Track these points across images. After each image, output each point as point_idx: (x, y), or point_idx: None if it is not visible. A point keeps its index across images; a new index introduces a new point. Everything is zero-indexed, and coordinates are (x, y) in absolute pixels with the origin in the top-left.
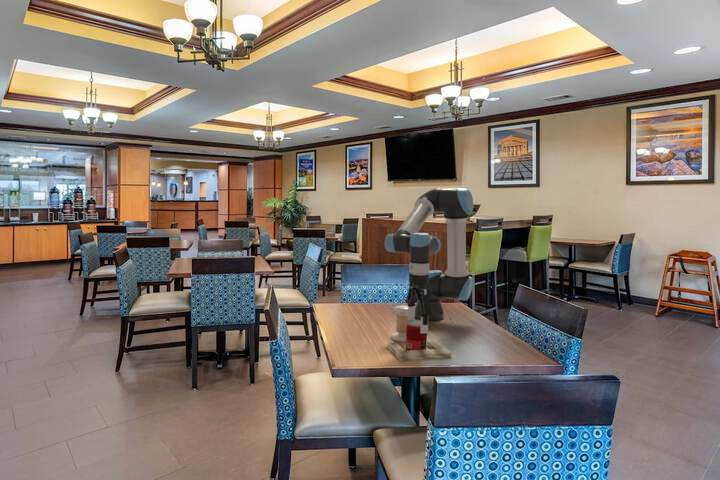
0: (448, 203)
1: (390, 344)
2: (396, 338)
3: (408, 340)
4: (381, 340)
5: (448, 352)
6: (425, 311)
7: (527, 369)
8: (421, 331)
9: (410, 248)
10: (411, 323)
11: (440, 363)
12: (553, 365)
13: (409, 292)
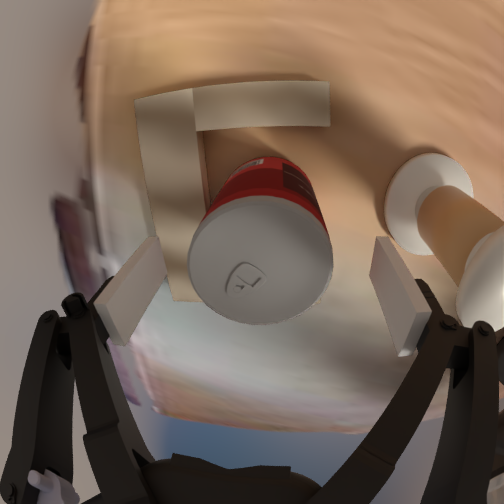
0: None
1: (301, 86)
2: (411, 164)
3: (245, 170)
4: (424, 98)
5: (175, 293)
6: (36, 337)
7: (126, 378)
8: (142, 244)
9: None
10: (262, 231)
11: (124, 238)
12: (155, 410)
13: (465, 450)
